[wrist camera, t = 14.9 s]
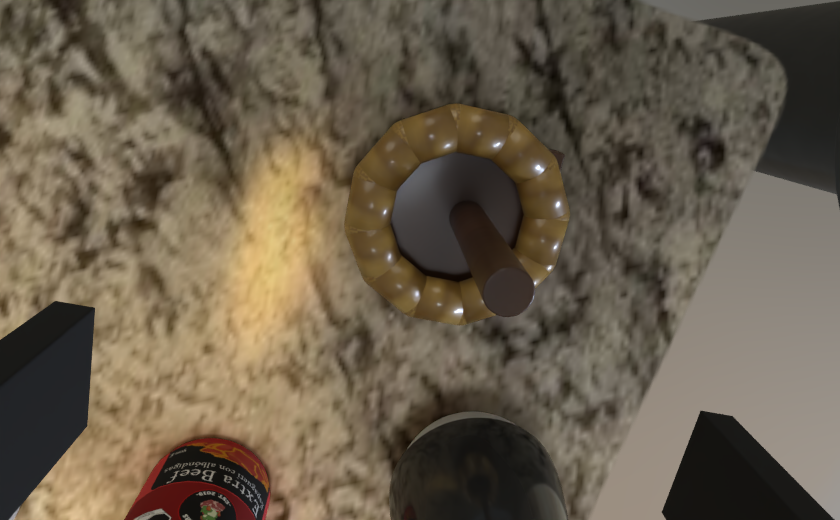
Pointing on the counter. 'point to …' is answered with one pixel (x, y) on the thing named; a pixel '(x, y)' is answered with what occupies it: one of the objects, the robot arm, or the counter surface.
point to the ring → (429, 141)
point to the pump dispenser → (475, 473)
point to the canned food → (205, 484)
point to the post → (465, 227)
